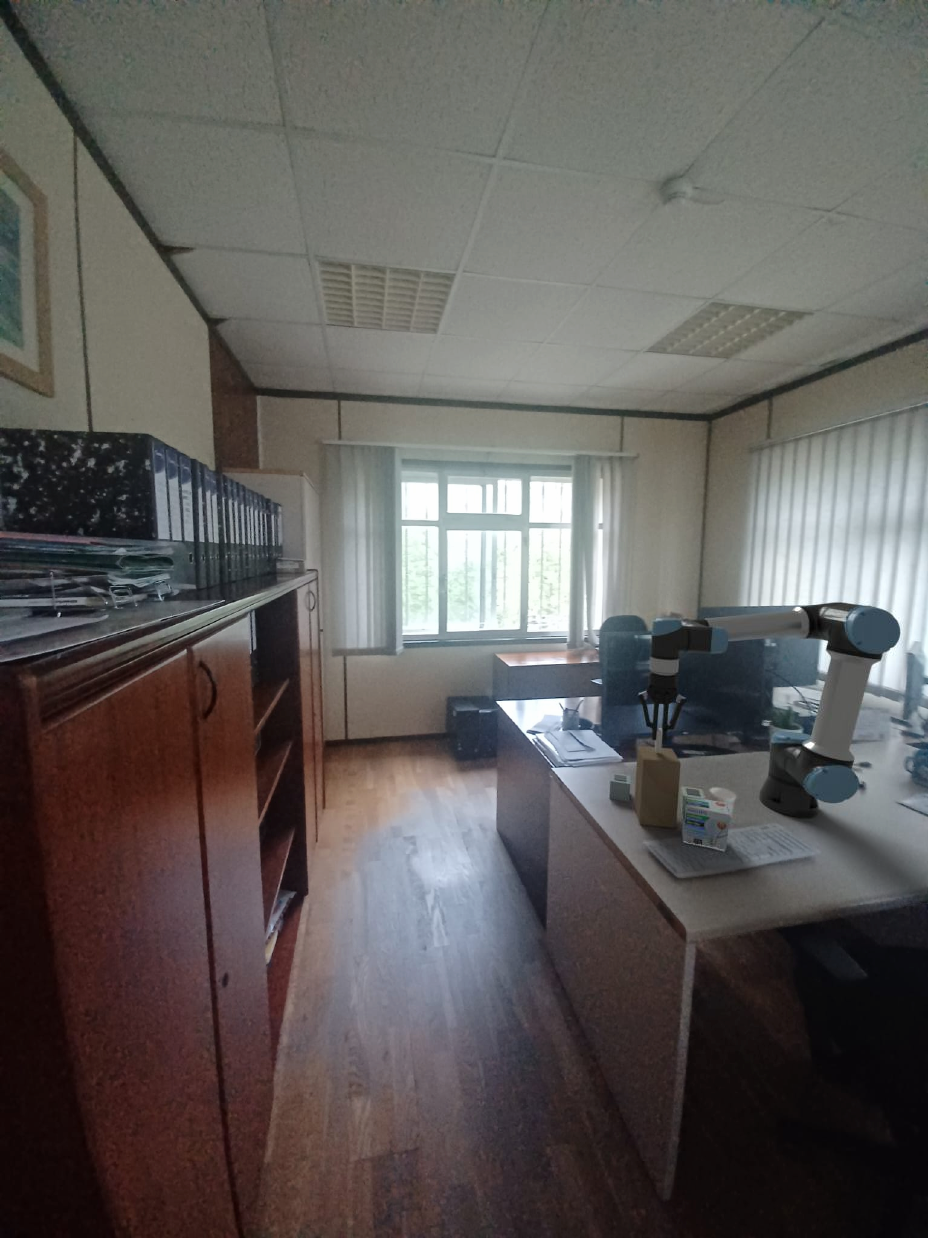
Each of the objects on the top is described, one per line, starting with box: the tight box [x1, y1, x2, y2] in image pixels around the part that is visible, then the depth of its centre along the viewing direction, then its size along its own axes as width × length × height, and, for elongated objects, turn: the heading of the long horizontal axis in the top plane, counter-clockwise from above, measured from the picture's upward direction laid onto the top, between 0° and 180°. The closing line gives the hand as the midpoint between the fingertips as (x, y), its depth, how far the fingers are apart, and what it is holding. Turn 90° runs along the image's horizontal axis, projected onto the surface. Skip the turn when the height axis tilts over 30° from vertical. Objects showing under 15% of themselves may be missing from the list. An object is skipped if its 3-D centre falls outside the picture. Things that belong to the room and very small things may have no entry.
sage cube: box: [679, 785, 706, 815], centre depth 140 cm, size 6×6×6 cm
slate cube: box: [609, 772, 631, 802], centre depth 149 cm, size 6×6×6 cm
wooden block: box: [633, 745, 681, 829], centre depth 136 cm, size 10×10×20 cm
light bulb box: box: [681, 796, 730, 850], centre depth 125 cm, size 11×7×11 cm, turn 68°
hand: (657, 750), depth 134 cm, fingers closed
